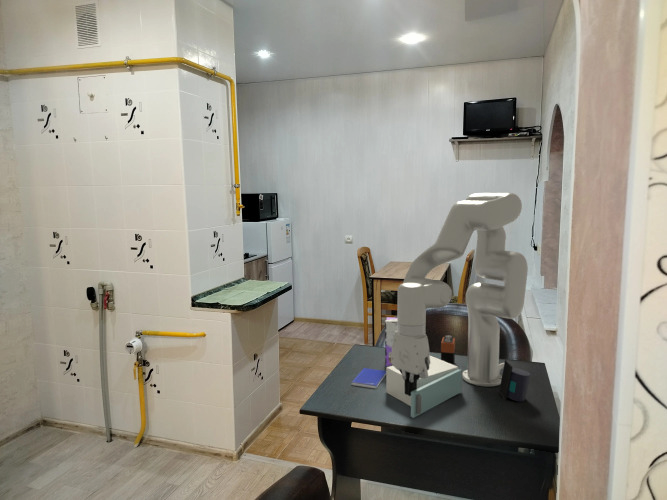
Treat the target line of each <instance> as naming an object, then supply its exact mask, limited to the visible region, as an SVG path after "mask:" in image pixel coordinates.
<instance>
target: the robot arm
mask: <svg viewBox="0 0 667 500" xmlns="http://www.w3.org/2000/svg"><path fill="white" fill-rule="evenodd" d="M522 210H523V204H522V200H521V198H520V197H519V195H518V194H516V193H513V192H478V193H472V194H470V195H469V196H467V198H466V200H460V201H457V202H455V203H453V205H452V206H451V208H450V210H449V212H448V214H447V216H446V219H445V221H444V223H443V225H442V227H441V230H440V231H439V234H438V237H436V238H437V239H436V241H435V242H434V244H432V245H431V246H429V247H428V248H427V249H426V250H424V251H423V252H422V253H420V254H419V255H418V256H417V257H416V258H415V259H414V260H413V262H412V263H411V265H410V266H409V268H408V269H407V272H406V274H405V277H404V279H403V282H402V283H400V284H399V286H398V287H397V304H396V305H397V307H396V308H397V309H396V310H397V312H396V313H397V314H396V315H397V317H396V318H397V321H396V322H395V325H396V326H397V331H396V332H395V334H394V338H393V344H392V355H391V363H392V365H393V366H394V367H395V368H396V369H397V370H399V371H400V372H401V374H402V377H403V379H404V380H405V394H406V395H408V396H411V392H412V391H414V390H416V389H417V380H419V378H427V377H428V370H429V366H430V356H431V355H430V345H429V339H428V336H427V334H426V323H427V322H426V314H427V312H426V311H427V309H440V308H444V307H446V306H447V305H448V304H449V303H450V302H451V300H452V297H453V292H452V288H451V286H450V285H449V284H448V283H446V282H444V281H441V280H438V279H437V280H436V279H433V278H432V279H431V278H426V277H427V276H428V274H429V273H430V272H431V271H432V270H433V269H435V268H437V267H438V266H441V265H443V264H446V263H449V262H451V261H452V262H453V261H454V260H455V261H456V260H457V259H460V258H461V257H463V256H464V255H465V251H466V249H467V246H468V244H469V242H470V240H471V237H472V235H473V233H474V232H475V231H476V232H477V233H476V234H477V237H476V238H477V239H476V249H475V256H474V257H475V258H474V273H475V275H477V277H480V278H482V279H486V280H492V281H498V282H504V285H500V284H499V285H498V284H494V283H488V282H476V283H473V284H471V285H470V286H469V287H468V288H467V290H466V293H465V302H466V303H465V304H466V309H467V315H468V320H467V321H468V326H467V327H468V330H467V335H468V336H467V369H466V370H463V371H462V380H463V381H465V382H466V383H469V384H472V385H474V386H477V387H478V386H479V387H488V388H490V387H496V386H500V384H501V379H502V373H500V372H501V371H502V370H503V368H504V363H505V362H501V363H499V362H500V361H499V360H500V332H501V329H500V324H499V321H498V318H497V317H499V318H504V319H511V320H512V319H513V320H514V319H516V318H517V319H518V317H520V316H521V314H522V311H523V310H524V309H523V308H524V304H525V297H526V290H527V289H526V288H527V280H528V262H527V258H526V257H525V256H524V254H522V253H520V252H518V251H514V250H513V251H512V250H506V238H507V237H506V231H505V230H506V229H505V228H504V227H505V226H506V225H509V224H511V223H513V222H514V221H516V220H517V219H518V218H519V216H520V214H521V213H522Z"/></svg>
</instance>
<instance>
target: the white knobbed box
mask: <svg viewBox="0 0 667 500" xmlns="http://www.w3.org/2000/svg"><path fill="white" fill-rule="evenodd" d="M385 368H386V370H385V371H386V375H385V376H386V381H385V383H386V388H385V390H386V393H387V394H389V395H390V396H392V397H394V398H395V399H397V400H399V401H400V402H403V403H404V404H406V405H407V406H410V407H411V396H408V395H406V394H405V380H404V379H403V377H402V374H401V372H400V371H399V370H397V369H396V368H395V367H394V366H385ZM457 369H459V367H458V366H457V365H455V364H454V365H452V364H450V363H447V362H445V361H442V360H441V358H437V357H435V356H432V355H430V366H429V370H428V377H427V378H419V380H417V389H418V388H420V387H422V386H424V385H426V384H428V383H430V382H432V381H435V380H437V379H439V378H441V377H443V376H445V375H447V374H449V373H451V372H453V371H455V370H457Z"/></svg>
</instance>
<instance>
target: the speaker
mask: <svg viewBox="0 0 667 500" xmlns="http://www.w3.org/2000/svg"><path fill="white" fill-rule="evenodd" d="M503 363H504V368H503V369H502V373H501V375H502V379H501V384H500V385H499V388H498V393H499V394H500V396H501V397H502V398H503V400H504V401H506V400H507V398H508V399H510V400H512V401H516V402H520V403H521V402H525V401H526V397H527V393H528V387H529V381H530V378H531V373H530V372H529V371H527V370H524V369H522V368H517V367H513V366H512V364H511V363H510V362H509V361H508V359H504V362H503Z"/></svg>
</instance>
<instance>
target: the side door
mask: <svg viewBox="0 0 667 500" xmlns="http://www.w3.org/2000/svg"><path fill="white" fill-rule="evenodd" d="M462 374H463V368H458V369H457V370H455V371H453V372H451V373H449V374H447V375H445V376H443V377H441V378H439V379H437V380H435V381H432V382H430V383H428V384H426V385H424V386H422V387H420V388H418V389H416V390H414V391H412V392H411V406H410V417H412V418H413V419H414V418H416V417H419V416H420V415H421V414H423V413H425V412H427V411H429V410H431V409H433V408H435V407H437V406H438V405H440V404H443V403H444V402H446V401H447V400H449V399H451V398H452V397H455V396H456V395H459V394H460V393H462V390H463V389H462V388H463V377H462Z"/></svg>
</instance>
